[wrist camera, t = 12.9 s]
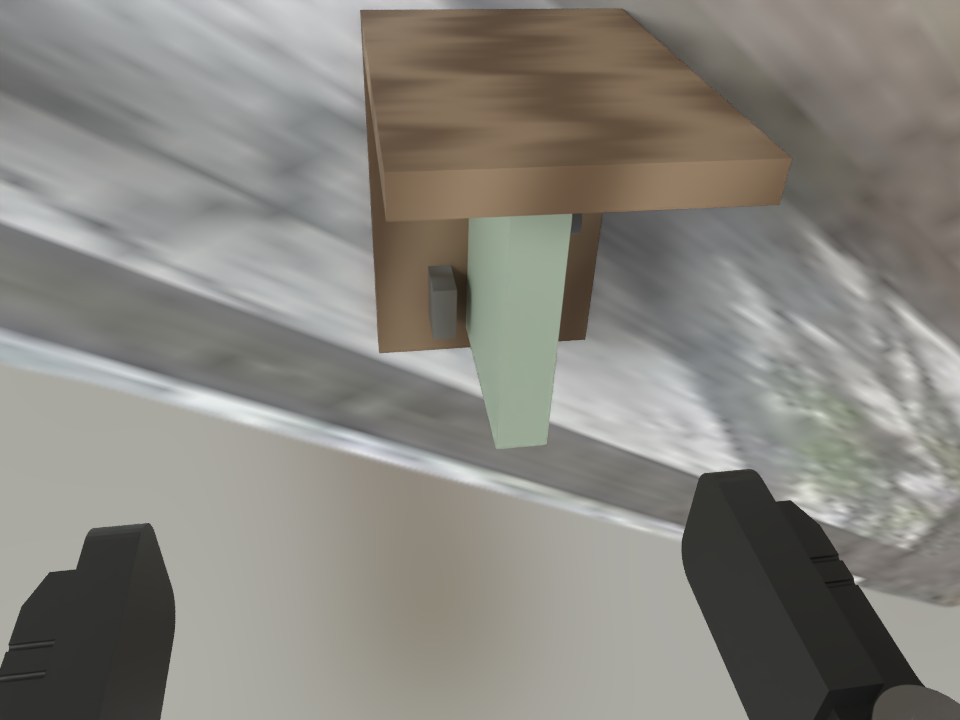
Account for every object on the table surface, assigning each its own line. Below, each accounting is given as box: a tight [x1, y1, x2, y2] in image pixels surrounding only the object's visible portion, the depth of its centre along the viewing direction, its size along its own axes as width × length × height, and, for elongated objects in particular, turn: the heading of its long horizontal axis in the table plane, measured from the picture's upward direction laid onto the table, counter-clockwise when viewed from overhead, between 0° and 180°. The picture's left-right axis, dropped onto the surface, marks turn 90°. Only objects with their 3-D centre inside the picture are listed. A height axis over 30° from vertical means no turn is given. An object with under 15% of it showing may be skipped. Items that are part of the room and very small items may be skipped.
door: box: [466, 213, 582, 449], centre depth 38 cm, size 3×12×10 cm, turn 179°
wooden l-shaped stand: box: [360, 9, 792, 353], centre depth 35 cm, size 12×18×17 cm, turn 179°
